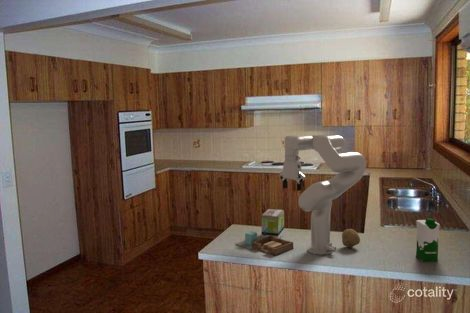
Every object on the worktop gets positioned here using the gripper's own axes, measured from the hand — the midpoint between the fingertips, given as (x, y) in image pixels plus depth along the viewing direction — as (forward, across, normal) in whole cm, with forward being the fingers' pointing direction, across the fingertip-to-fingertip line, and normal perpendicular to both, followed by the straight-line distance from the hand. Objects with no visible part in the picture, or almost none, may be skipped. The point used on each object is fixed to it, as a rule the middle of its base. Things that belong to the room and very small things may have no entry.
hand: (292, 189), depth 224 cm
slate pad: (+28, +11, +22) cm, 37 cm away
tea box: (+29, +10, +5) cm, 31 cm away
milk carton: (+28, -65, -20) cm, 74 cm away
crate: (+28, -2, +19) cm, 34 cm away
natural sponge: (+28, -31, -9) cm, 43 cm away
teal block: (+28, +11, +22) cm, 37 cm away
